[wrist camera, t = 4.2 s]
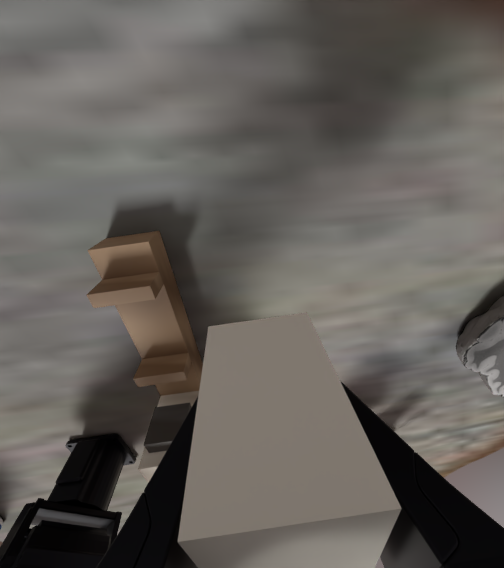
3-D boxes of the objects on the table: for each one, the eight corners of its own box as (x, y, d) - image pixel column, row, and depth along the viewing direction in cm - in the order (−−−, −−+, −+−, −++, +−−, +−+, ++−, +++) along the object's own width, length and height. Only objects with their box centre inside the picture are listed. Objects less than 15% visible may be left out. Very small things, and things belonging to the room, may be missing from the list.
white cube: (307, 395, 12) (367, 584, 7) (229, 406, 12) (227, 604, 7) (306, 312, 9) (401, 508, 4) (208, 326, 9) (177, 541, 4)
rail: (217, 409, 28) (211, 500, 21) (184, 414, 28) (166, 507, 21) (159, 230, 17) (102, 287, 10) (105, 238, 17) (10, 300, 10)
